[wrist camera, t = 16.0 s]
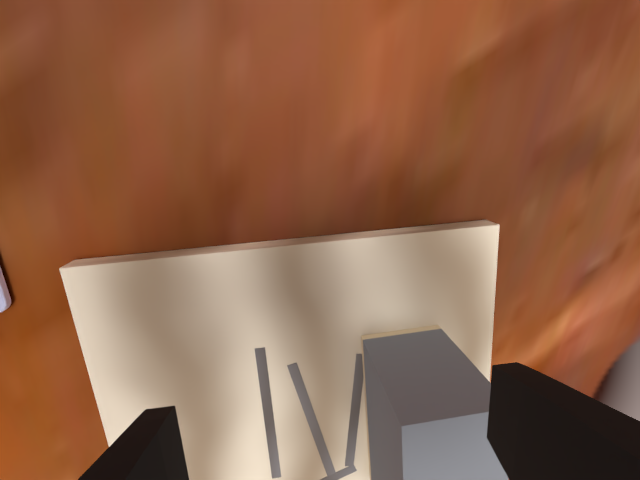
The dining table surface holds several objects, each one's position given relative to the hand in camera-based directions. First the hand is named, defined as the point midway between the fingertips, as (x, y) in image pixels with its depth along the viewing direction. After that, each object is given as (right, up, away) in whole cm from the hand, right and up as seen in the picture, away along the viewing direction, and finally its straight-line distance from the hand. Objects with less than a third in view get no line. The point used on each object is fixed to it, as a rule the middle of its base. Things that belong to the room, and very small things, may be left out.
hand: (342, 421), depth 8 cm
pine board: (-1, -5, +12) cm, 13 cm away
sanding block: (+4, -5, +11) cm, 13 cm away
